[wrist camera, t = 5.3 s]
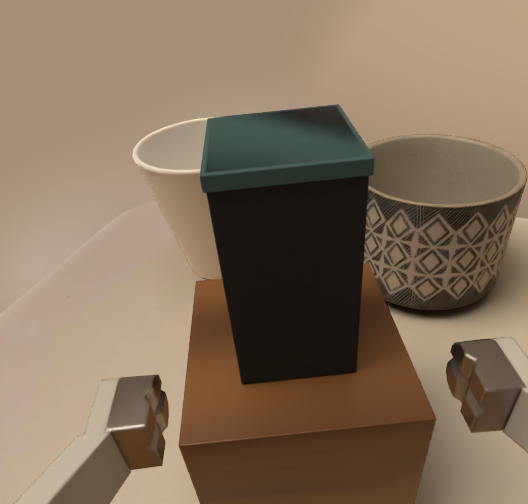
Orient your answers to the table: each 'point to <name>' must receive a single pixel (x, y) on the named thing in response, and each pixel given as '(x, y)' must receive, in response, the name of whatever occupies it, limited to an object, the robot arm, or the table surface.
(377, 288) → the block
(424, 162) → the planter
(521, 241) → the table surface
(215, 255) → the cup
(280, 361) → the pad block
